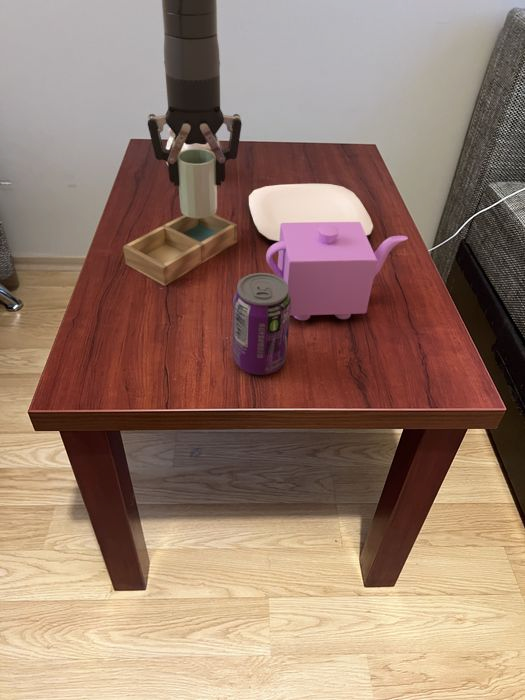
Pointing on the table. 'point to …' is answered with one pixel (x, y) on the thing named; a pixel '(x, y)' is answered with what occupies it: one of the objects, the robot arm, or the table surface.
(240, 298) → the beverage can
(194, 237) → the holder
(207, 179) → the cup
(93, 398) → the table surface
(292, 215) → the plate
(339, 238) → the teapot
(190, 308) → the table surface
